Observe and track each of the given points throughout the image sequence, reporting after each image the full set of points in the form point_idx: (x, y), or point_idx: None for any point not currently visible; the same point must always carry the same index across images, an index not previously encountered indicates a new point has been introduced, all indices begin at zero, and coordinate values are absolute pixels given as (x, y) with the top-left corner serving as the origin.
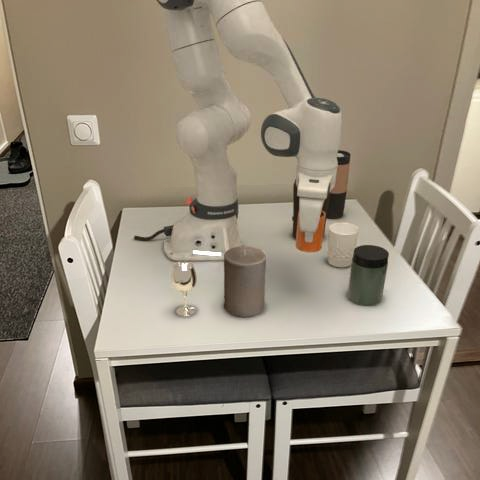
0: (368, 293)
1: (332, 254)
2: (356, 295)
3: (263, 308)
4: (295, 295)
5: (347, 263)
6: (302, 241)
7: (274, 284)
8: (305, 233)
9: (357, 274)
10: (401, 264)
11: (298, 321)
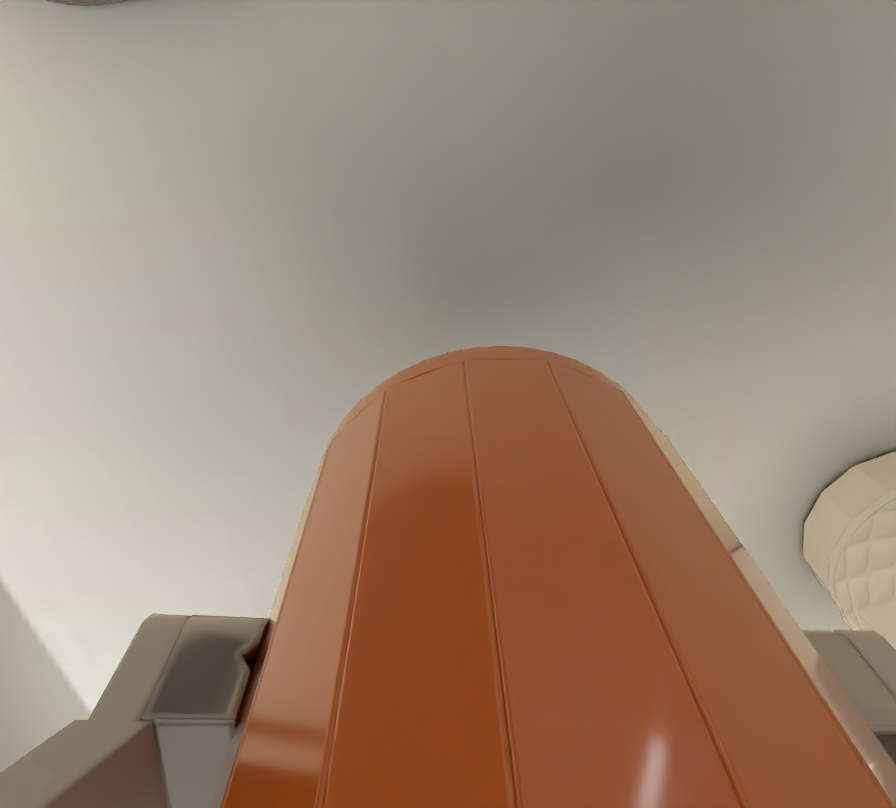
0: None
1: (888, 524)
2: None
3: (70, 4)
4: (367, 255)
5: (820, 582)
6: (303, 526)
7: (516, 59)
8: (12, 773)
9: None
10: None
11: (17, 304)
